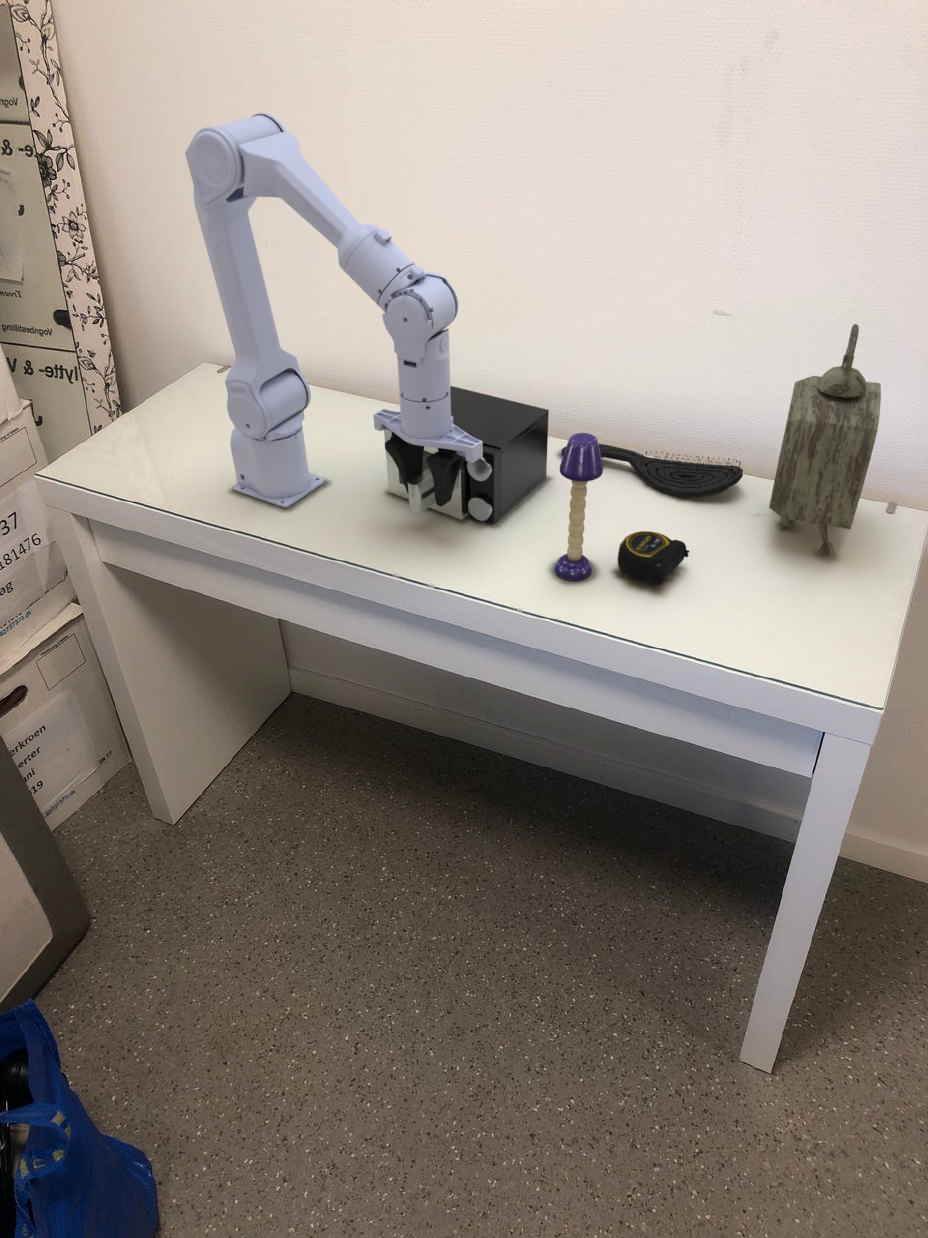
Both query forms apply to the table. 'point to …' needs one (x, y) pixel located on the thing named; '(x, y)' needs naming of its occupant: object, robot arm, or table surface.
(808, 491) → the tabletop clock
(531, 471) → the microwave
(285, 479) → the robot arm
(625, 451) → the hairbrush
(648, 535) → the tape measure
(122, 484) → the table surface
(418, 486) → the microwave door
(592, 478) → the toy lamp
